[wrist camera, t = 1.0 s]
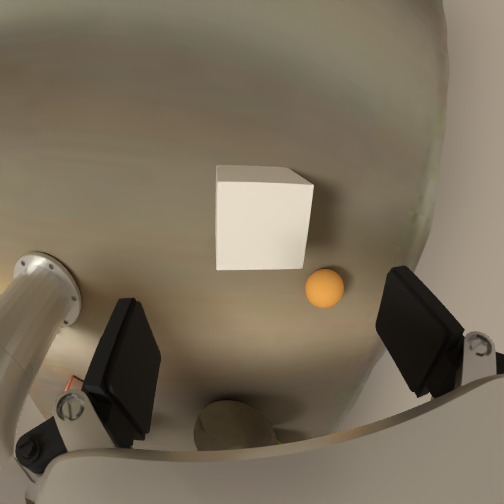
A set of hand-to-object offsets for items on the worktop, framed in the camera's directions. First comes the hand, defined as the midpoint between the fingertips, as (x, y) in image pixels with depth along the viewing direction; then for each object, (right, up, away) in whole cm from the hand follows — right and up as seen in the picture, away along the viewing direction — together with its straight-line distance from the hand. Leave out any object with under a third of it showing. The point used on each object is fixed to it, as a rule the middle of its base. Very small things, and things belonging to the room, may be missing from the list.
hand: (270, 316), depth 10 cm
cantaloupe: (-5, -27, +38) cm, 47 cm away
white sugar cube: (-1, +8, +21) cm, 22 cm away
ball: (+9, -2, +25) cm, 26 cm away
